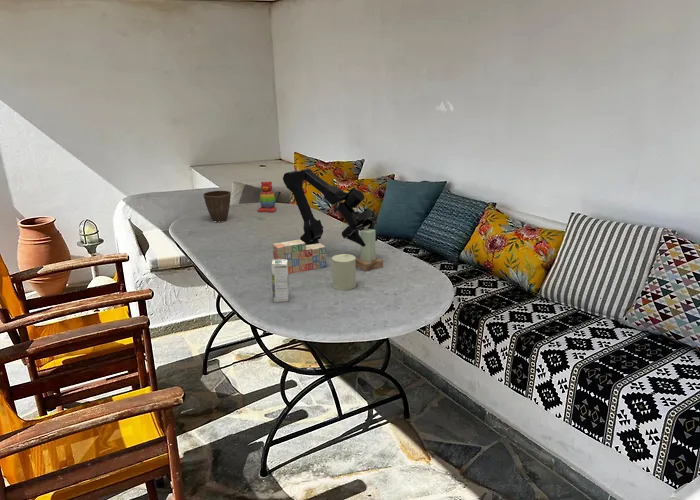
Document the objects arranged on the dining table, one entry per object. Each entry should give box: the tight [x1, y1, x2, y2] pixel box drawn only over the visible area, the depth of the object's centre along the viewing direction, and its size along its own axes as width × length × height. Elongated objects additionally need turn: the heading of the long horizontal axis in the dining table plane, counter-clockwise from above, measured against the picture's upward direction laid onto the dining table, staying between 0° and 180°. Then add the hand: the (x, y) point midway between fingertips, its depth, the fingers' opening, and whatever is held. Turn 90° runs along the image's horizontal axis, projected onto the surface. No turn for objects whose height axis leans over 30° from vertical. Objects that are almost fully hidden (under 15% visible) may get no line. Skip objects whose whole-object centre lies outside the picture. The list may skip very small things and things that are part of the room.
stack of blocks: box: [272, 239, 327, 275], centre depth 223 cm, size 21×6×12 cm, turn 115°
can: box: [331, 253, 357, 291], centre depth 204 cm, size 9×9×12 cm
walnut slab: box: [355, 256, 384, 272], centre depth 226 cm, size 9×9×3 cm
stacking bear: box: [257, 181, 277, 213], centre depth 321 cm, size 11×10×18 cm
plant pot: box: [203, 190, 232, 223], centre depth 299 cm, size 15×15×16 cm
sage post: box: [360, 228, 376, 262], centre depth 224 cm, size 4×4×13 cm
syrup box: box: [271, 259, 290, 303], centre depth 192 cm, size 6×6×14 cm
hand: (370, 243), depth 223 cm, fingers open, 9 cm apart
